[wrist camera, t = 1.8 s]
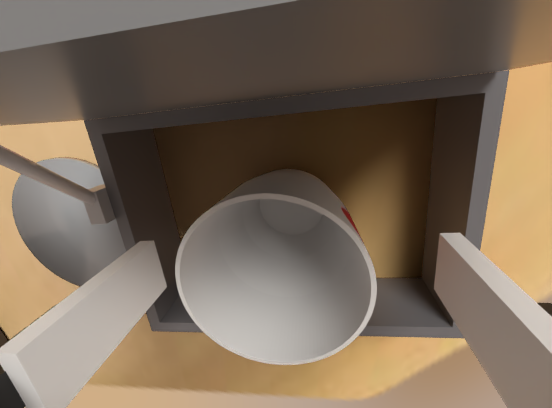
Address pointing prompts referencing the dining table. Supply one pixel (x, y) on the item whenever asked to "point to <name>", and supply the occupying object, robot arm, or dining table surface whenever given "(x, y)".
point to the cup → (277, 271)
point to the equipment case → (267, 102)
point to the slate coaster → (65, 223)
